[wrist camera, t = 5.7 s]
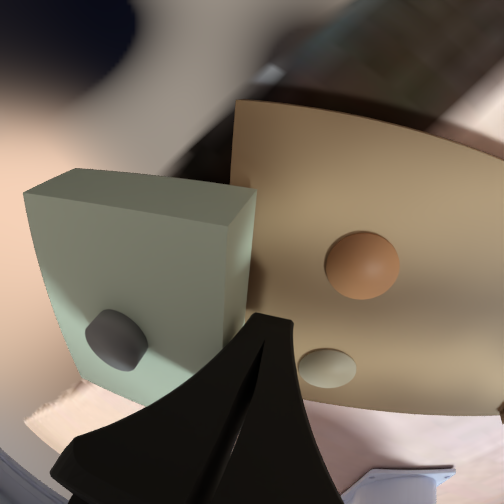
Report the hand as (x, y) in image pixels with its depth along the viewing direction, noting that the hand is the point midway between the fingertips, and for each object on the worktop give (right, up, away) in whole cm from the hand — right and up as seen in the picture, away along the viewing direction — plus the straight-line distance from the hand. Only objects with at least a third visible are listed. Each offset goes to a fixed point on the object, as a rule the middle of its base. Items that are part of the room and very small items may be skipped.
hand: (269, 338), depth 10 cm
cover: (-4, +1, +2) cm, 5 cm away
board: (+11, 0, 0) cm, 11 cm away
